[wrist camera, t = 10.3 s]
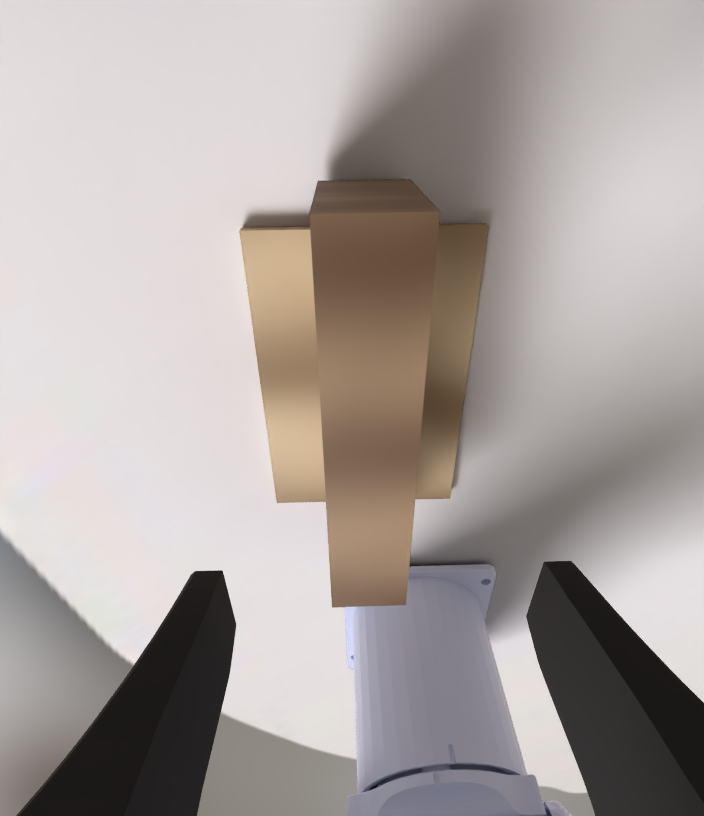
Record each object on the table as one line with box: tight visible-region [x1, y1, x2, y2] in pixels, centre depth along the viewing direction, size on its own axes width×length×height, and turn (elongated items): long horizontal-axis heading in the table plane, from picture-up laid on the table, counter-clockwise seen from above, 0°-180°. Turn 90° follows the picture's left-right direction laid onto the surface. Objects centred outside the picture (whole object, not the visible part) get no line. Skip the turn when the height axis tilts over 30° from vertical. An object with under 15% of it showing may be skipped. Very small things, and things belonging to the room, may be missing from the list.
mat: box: [240, 224, 489, 503], centre depth 18 cm, size 12×8×1 cm, turn 1°
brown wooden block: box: [309, 179, 440, 607], centre depth 16 cm, size 14×3×5 cm, turn 1°
